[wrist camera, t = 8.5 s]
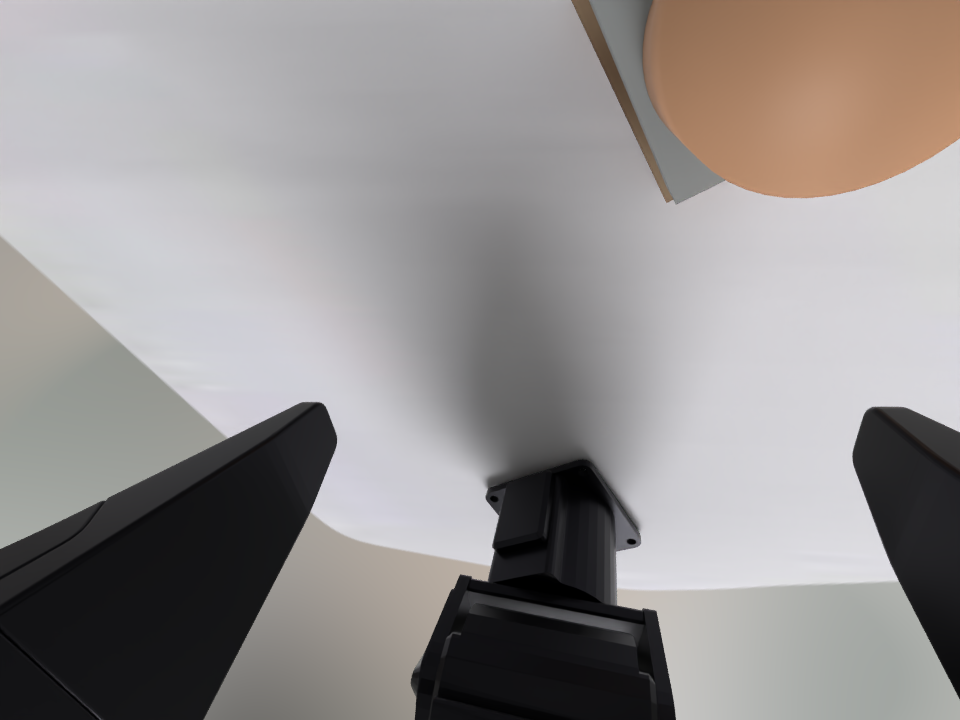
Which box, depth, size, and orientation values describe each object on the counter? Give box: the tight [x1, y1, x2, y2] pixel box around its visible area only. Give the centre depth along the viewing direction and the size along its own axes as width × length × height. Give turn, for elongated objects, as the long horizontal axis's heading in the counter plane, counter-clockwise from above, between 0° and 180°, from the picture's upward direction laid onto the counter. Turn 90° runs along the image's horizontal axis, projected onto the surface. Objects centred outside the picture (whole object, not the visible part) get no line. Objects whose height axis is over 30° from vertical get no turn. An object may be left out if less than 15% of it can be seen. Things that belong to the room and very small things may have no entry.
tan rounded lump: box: [642, 0, 960, 198], centre depth 8 cm, size 5×5×4 cm
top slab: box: [589, 0, 725, 204], centre depth 11 cm, size 6×6×2 cm
